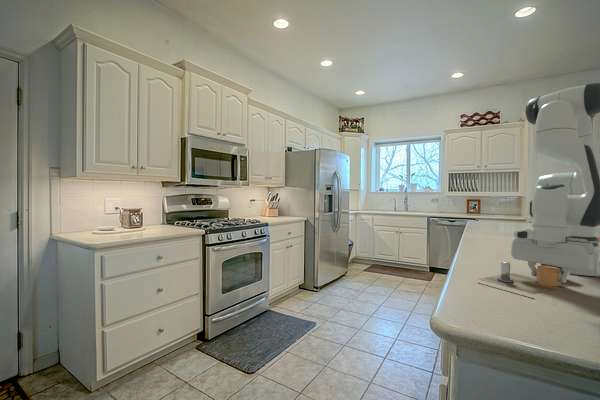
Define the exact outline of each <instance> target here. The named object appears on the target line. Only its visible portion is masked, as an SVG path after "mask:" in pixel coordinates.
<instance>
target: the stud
mask: <svg viewBox="0 0 600 400" xmlns="http://www.w3.org/2000/svg"><path fill="white" fill-rule="evenodd" d="M510 274H511V262H509V261H500V275H501V277H498V278H497V280H498V281H500V282H505V283H514V280H513V279H510Z"/></svg>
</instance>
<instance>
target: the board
mask: <svg viewBox="0 0 600 400" xmlns="http://www.w3.org/2000/svg"><path fill="white" fill-rule="evenodd" d="M498 277H501V274H500V275H499V274H498V275H495V276H488V277H481V278H480V277H479V280H481V281H484V282H488V283H492V284H496V285H499V286H502V287H506V288H509V289H514V290H517V291H520V292H525V293H528V294H531V295H532V294H533V295H537V294H542V293H545V292H549V291H554V290H555V291H556V290H558V289H564V288H568V287H571V285H569V284H565V283H561V286H548V285H543V284H539V283H538V282H536V277H535V276H529V275H524V274H521V273H515V272H513V273H510V279H513V280H514V283H505V282H500V281H498V280H497V278H498ZM477 284H479V285H482V286H485V287H489V288H492V289H496V290H498V291H499V290H500V291H503V292H506V293H511V294H514V295H517V296H520V297H521V296H522V297H525V298H528V299H531V300H536V298H535V297H530V296H527V295H523V294H519V293H516V292H513V291H509V290H505V289H501V288H498V287H495V286H491V285H489V284H484V283H481V282H477Z"/></svg>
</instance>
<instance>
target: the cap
mask: <svg viewBox="0 0 600 400" xmlns="http://www.w3.org/2000/svg"><path fill="white" fill-rule="evenodd" d="M536 269H537V277H535V278H536V282H538V283H539V284H543V285H548V286H561V284H562V282H558V276H560V275H561V272H560V269H559V268H556V267H550V266H541V265H538V266H537V268H536Z"/></svg>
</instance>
